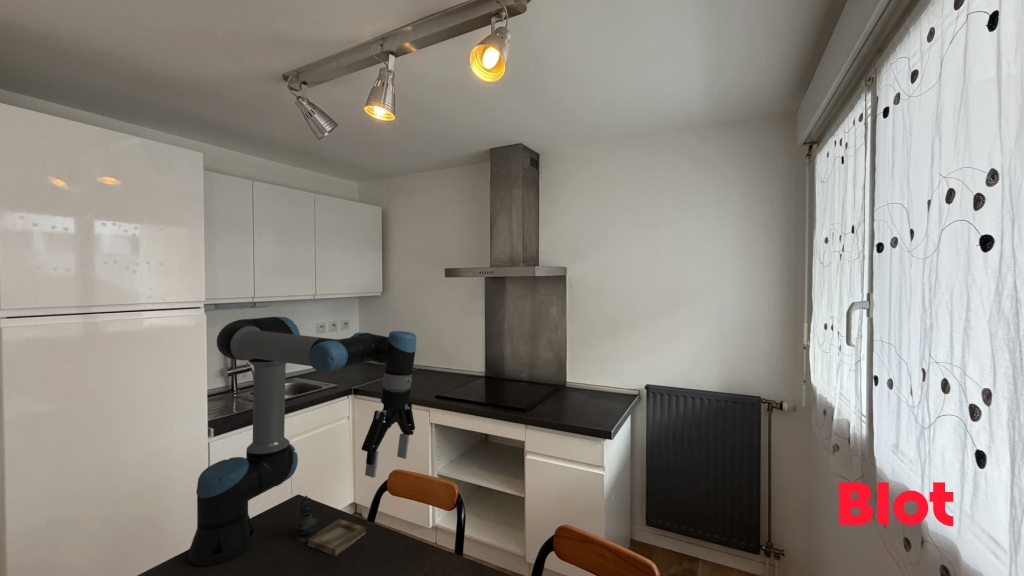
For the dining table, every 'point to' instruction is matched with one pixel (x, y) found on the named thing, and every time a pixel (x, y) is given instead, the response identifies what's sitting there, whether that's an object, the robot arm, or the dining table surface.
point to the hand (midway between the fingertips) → (386, 466)
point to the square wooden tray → (336, 537)
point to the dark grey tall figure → (305, 521)
